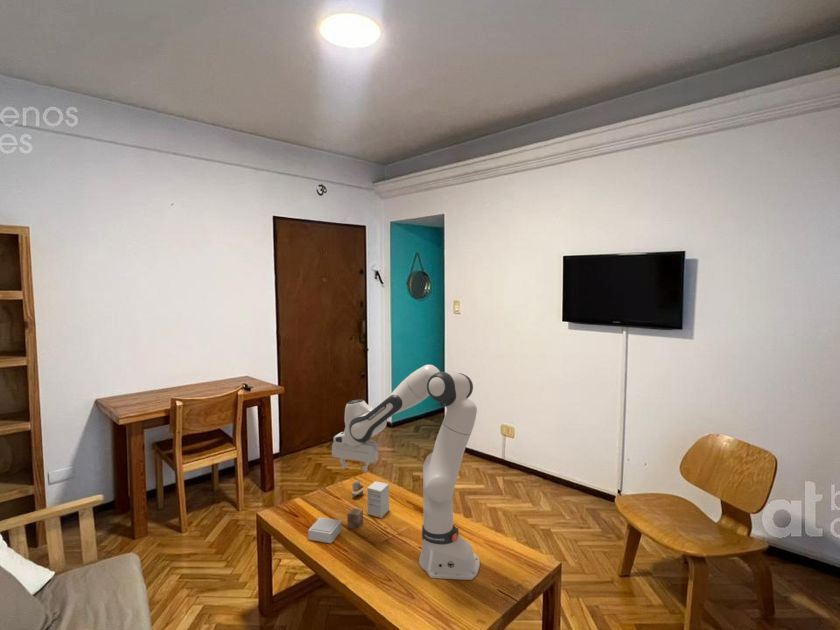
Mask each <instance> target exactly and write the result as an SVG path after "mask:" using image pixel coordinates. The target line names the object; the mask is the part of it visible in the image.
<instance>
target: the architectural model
mask: <svg viewBox="0 0 840 630" xmlns="http://www.w3.org/2000/svg"><path fill="white" fill-rule="evenodd" d="M364 490H366V487H364V485H363V484H361V479H358V480H356V481H354V482H353V483H352V491H351V492H350V493H351V494H352V498H355V497H356V496H362V495H363V494H364Z"/></svg>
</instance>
